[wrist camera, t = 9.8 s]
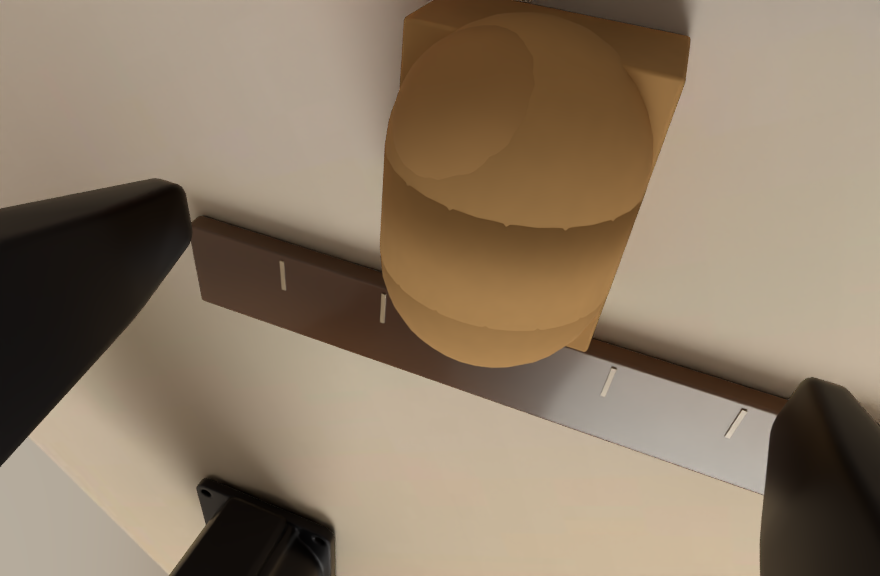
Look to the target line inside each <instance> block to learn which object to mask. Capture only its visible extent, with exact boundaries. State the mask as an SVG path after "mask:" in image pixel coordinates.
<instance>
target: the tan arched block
mask: <svg viewBox="0 0 880 576" xmlns="http://www.w3.org/2000/svg"><path fill="white" fill-rule="evenodd" d="M689 49H690V37H688V36H685V35H680V34H675V33H671V32H666V31H661V30H656V29H651V28H646V27H641V26H636V25H631V24H627V23H622V22H617V21H612V20H607V19H602V18H597V17H592V16H588V15H583V14H578V13H573V12H568V11H563V10H558V9H553V8H548V7H544V6H539V5H534V4H529V3H524V2H519V1H514V0H433V1H431V2H430V3H428V4H426V5H425V6H423V7H421V8H420V9H418V10H416V11H415V12H413V13H411V14H410V15H408V16H406V17H405V19H404V28H403V44H402V60H401V76H400V90H399V92H398V95H397V98H396V101H395V103H394V106H393V109H392V112H391V115H390V118H389V123H388V129H387V135H386V141H385V153H384V173H383V193H382V213H381V233H380V253H381V265H382V274H383V278H384V281H385V284H386V287H387V290H388V293H389V296H390V298H391V300H392V303H393V305H394V307H395V308H396V310H397V311H398V313H399V314H400V316H401V317H402V318H403V320H404V321H405V323H406V324H407V325H408V327H409V328H410V329H411V331H412V332H414V333H415V334H416V335H417V336H418V337H419V338H420V339H422V340H423V341H424V342H425V343H427V344H428V345H429V346H431V347H432V348H434V349H436V350H437V351H439V352H440V353H442V354H444V355H445V356H448V357H450V358H452V359H455V360H457V361H459V362H463V363H467V364H471V365H474V366H481V367H490V368H502V367H512V366H517V365H523V364H528V363H533V362H536V361H538V360H541V359H544V358H546V357H549V356H550V355H552V354H554V353H555V352H557V351H559V350H560V349H562V348H563V347H565V346H567V347H570V348H573V349H577V350H580V351H583V352H586V351H587V350H588V347H589V345H590V342H591V339H592V336H593V334H594V331H595V328H596V325H597V323H598V320H599V317H600V314H601V312H602V309H603V306H604V303H605V301H606V298H607V295H608V293H609V291H610V288H611V285H612V282H613V280H614V277H615V274H616V272H617V269H618V266H619V263H620V261H621V258H622V255H623V252H624V250H625V247H626V244H627V241H628V239H629V236H630V233H631V230H632V228H633V225H634V222H635V219H636V217H637V214H638V211H639V209H640V206H641V203H642V200H643V198H644V195H645V192H646V189H647V186H648V183H649V180H650V177H651V175H652V172H653V169H654V166H655V164H656V161H657V158H658V155H659V153H660V150H661V147H662V144H663V142H664V139H665V136H666V134H667V131H668V128H669V125H670V123H671V120H672V117H673V114H674V112H675V109H676V106H677V103H678V101H679V98H680V95H681V92H682V90H683V87H684V84H685V80H686V72H687V64H688V57H689Z"/></svg>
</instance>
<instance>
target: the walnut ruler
mask: <svg viewBox="0 0 880 576" xmlns="http://www.w3.org/2000/svg"><path fill="white" fill-rule="evenodd" d="M191 224H192V230H193V232H192V238H191V244H192V249H193V254H194V260H195V265H196V270H197V275H198V281H199V286H200V291H201V296H202V299H203V300H204V301H207V302H210V303H212V304H215V305H218V306H221V307H224V308H227V309H230V310H233V311H235V312H238V313H241V314H244V315H247V316H250V317H253V318H256V319H258V320H261V321H264V322H267V323H270V324H273V325H276V326H279V327H281V328H284V329H287V330H290V331H293V332H296V333H299V334H302V335H304V336H307V337H310V338H313V339H316V340H319V341H322V342H324V343H327V344H330V345H333V346H336V347H339V348H342V349H345V350H347V351H350V352H353V353H356V354H359V355H362V356H365V357H368V358H370V359H373V360H376V361H379V362H382V363H385V364H388V365H391V366H393V367H396V368H399V369H402V370H405V371H408V372H411V373H414V374H416V375H419V376H422V377H425V378H428V379H431V380H434V381H437V382H439V383H442V384H445V385H448V386H451V387H454V388H457V389H460V390H462V391H465V392H468V393H471V394H474V395H477V396H480V397H482V398H485V399H488V400H491V401H494V402H497V403H500V404H503V405H505V406H508V407H511V408H514V409H517V410H520V411H523V412H526V413H528V414H531V415H534V416H537V417H540V418H543V419H546V420H549V421H551V422H554V423H557V424H560V425H563V426H566V427H569V428H572V429H574V430H577V431H580V432H583V433H586V434H589V435H592V436H595V437H597V438H600V439H603V440H606V441H609V442H612V443H615V444H618V445H620V446H623V447H626V448H629V449H632V450H635V451H638V452H640V453H643V454H646V455H649V456H652V457H655V458H658V459H661V460H663V461H666V462H669V463H672V464H675V465H678V466H681V467H684V468H686V469H689V470H692V471H695V472H698V473H701V474H704V475H707V476H709V477H712V478H715V479H718V480H721V481H724V482H727V483H730V484H732V485H735V486H738V487H741V488H744V489H747V490H750V491H753V492H755V493H758V494H761V495H764V489H765V479H766V469H767V458H768V448H769V438H770V432H771V428H772V425H773V422H774V420H775V418H776V417H777V415H778V414H779V412H780V411H781V410H782V408H783V407H784V405H785V404H786V403H787V401H788V400H786V399H783V398H780V397H777V396H774V395H771V394H767V393H764V392H761V391H758V390H755V389H751V388H748V387H745V386H742V385H739V384H736V383H732V382H729V381H726V380H723V379H720V378H716V377H713V376H710V375H707V374H704V373H701V372H697V371H694V370H691V369H688V368H685V367H682V366H678V365H675V364H672V363H669V362H666V361H662V360H659V359H656V358H653V357H650V356H647V355H643V354H640V353H637V352H634V351H631V350H627V349H624V348H621V347H618V346H615V345H612V344H608V343H605V342H602V341H599V340H596V339H593V338H592V339H591V342H590V345H589V347H588V350H587V351H586V352H583V351H580V350H577V349H573V348H570V347H567V346H565V347H563V348H562V349H560V350H559V351H557V352H555V353H554V354H552V355H550V356H549V357H546V358H544V359H541V360H538V361H536V362H533V363H528V364H523V365H517V366H512V367H502V368H490V367H481V366H474V365H471V364H467V363H463V362H459V361H457V360H455V359H452V358H450V357H448V356H445V355H444V354H442V353H440V352H439V351H437V350H436V349H434V348H432V347H431V346H429V345H428V344H427V343H425V342H424V341H423V340H422V339H420V338H419V337H418V336H417V335H416V334H415V333H414V332H412V331H411V329H410V328H409V327H408V325H407V324H406V323H405V321H404V320H403V318H402V317H401V316H400V314H399V313H398V311H397V310H396V308H395V307H394V305H393V303H392V300H391V298H390V296H389V293H388V290H387V287H386V284H385V281H384V278H383V274H382V272H380V271H376V270H373V269H370V268H367V267H364V266H360V265H357V264H354V263H351V262H348V261H345V260H341V259H338V258H335V257H332V256H329V255H326V254H322V253H319V252H316V251H313V250H310V249H306V248H303V247H300V246H297V245H294V244H291V243H287V242H284V241H281V240H278V239H275V238H271V237H268V236H265V235H262V234H259V233H256V232H252V231H249V230H246V229H243V228H240V227H237V226H233V225H230V224H227V223H224V222H221V221H217V220H214V219H211V218H208V217H205V216H199V217H198V218H196V219H195V220H194V221H192V222H191Z"/></svg>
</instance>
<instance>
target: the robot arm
mask: <svg viewBox="0 0 880 576" xmlns="http://www.w3.org/2000/svg"><path fill="white" fill-rule="evenodd" d="M192 232H193V230H192V224H191V218H190V213H189V208H188V202H187V197H186V193H185V191H184V189H183V188H182V187H181V186H180V185H178V184H175V183H172V182H169V181H166V180H162V179H157V178H154V179H148V180H143V181H138V182H133V183H128V184H122V185H117V186H112V187H107V188H102V189H97V190H92V191H87V192H82V193H77V194H72V195H67V196H62V197H56V198H51V199H46V200H41V201H36V202H31V203H26V204H21V205H16V206H11V207H6V208H1V209H0V467H1V465H2V464H3V463H4V462H5V461H6V460H7V459H8V458H9V457H10V456H11V454H12V453H13V452H14V451H15V450H16V449H17V448H18V446H20V445H21V443H22V442H23V441H24V440H25V439H26V438H27V437H28V436H29V435H30V434H31V432H32V431H33V430H34V429H35V428H36V427H37V426H38V425H39V424H40V422H41V421H42V420H43V419H44V418H45V417H46V416H47V415H48V414H49V413H50V411H51V410H52V409H53V408H54V407H55V406H56V405H57V404H58V403H59V402H60V400H61V399H62V398H63V397H64V396H65V395H66V394H67V393H68V392H69V391H70V389H71V388H72V387H73V386H74V385H75V384H76V383H77V382H78V381H79V380H80V378H81V377H82V376H83V375H84V374H85V373H86V372H87V371H88V370H89V368H90V367H91V366H92V365H93V364H94V363H95V362H96V361H97V360H98V359H99V357H100V356H101V355H102V354H103V353H104V352H105V351H106V350H107V349H108V348H109V346H110V345H111V344H112V343H113V342H114V341H115V340H116V339H117V338H118V337H119V335H120V334H121V333H122V332H123V331H124V330H125V329H126V328H127V327H128V325H129V324H130V323H131V322H132V321H133V320H134V318H135V317H136V316H137V315H138V313H139V312H140V311H141V309H142V308H143V307H144V306H145V304H146V303H147V302H148V300H149V299H150V297H151V296H152V295H153V293H154V292H155V291H156V289H157V288H158V287H159V285H160V284H161V282H162V281H163V280H164V278H165V277H166V276H167V274H168V273H169V272H170V270H171V269H172V267H173V266H174V265H175V263H176V262H177V261H178V259H179V258H180V257H181V255H182V254H183V253H184V251H185V250H186V248H187V247H188V245H189V244H190V241H191V238H192ZM197 493H198V496H199V500H200V504H201V508H202V511H203V515H204V519H205V522H206V526H205V527H204V529H203V530H202V531H201V533H200V534H199V535H198V537H197V538H196V540H195V541H194V542H193V544H192V545H191V546H190V548H189V549H188V550H187V552H186V553H185V555H184V556H183V557H182V559H181V560H180V561H179V563H178V564H177V565H176V567H175V568H174V569H173V571H172V572H171V574H170V575H169V576H335V537H334V534H333V533H332V532H331V531H330V530H329V529H327V528H326V527H324V526H321V525H319V524H316V523H314V522H312V521H309V520H307V519H304V518H302V517H300V516H297V515H295V514H293V513H290V512H288V511H285V510H283V509H281V508H278V507H276V506H273V505H271V504H269V503H266V502H264V501H261V500H259V499H257V498H254V497H252V496H249V495H247V494H245V493H242V492H240V491H238V490H235V489H233V488H230V487H228V486H226V485H223V484H221V483H218V482H216V481H214V480H211V479H208V478H204V479H202V481H201V482H200V483H199V484H198V486H197ZM760 576H880V427H879V425H878V424H877V423H876V422H875V421H874V420H873V418H872V417H871V416H870V415H869V414H868V413H867V411H866V410H865V409H864V408H863V407H862V406H861V405H860V403H859V402H858V401H857V400H856V399H855V398H854V396H853V395H852V394H851V393H850V392H849V391H848V390H847V389H846V388H844V387H843V386H840V385H837V384H834V383H831V382H827V381H824V380H821V379H818V378H814V377H811V378H806V379H805V380H803V381H802V382H801V383H800V384H799V386H798V387H797V389H796V390H795V391H794V393H793V394H792V396H791V397H790V398H789V400H788V401H787V403H786V404H785V405H784V407H783V408H782V410H781V411H780V412H779V414H778V415H777V417H776V418H775V420H774V422H773V425H772V428H771V432H770V438H769V448H768V458H767V469H766V479H765V489H764V499H763V510H762V520H761V532H760Z"/></svg>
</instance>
